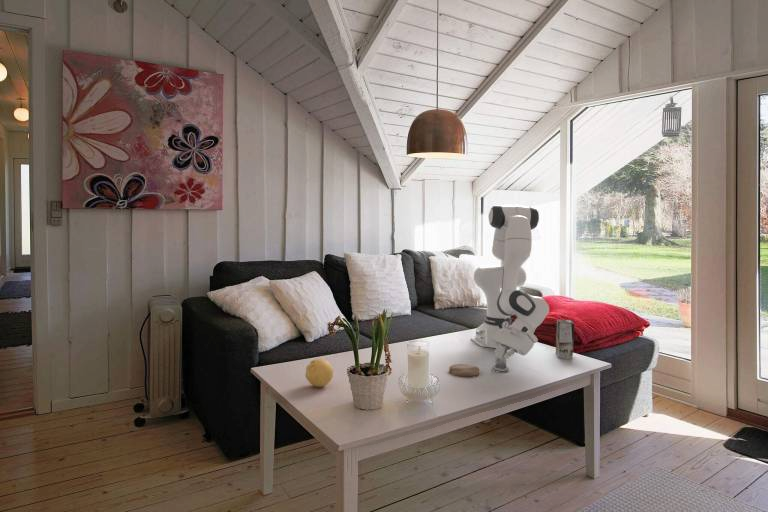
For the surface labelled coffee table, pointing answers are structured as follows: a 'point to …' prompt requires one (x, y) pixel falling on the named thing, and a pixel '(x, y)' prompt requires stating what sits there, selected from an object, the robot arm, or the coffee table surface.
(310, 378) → the stress ball
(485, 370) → the coffee table surface
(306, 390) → the coffee table surface
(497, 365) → the knob
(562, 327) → the coffee box
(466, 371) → the base disc
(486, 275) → the robot arm
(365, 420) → the coffee table surface
